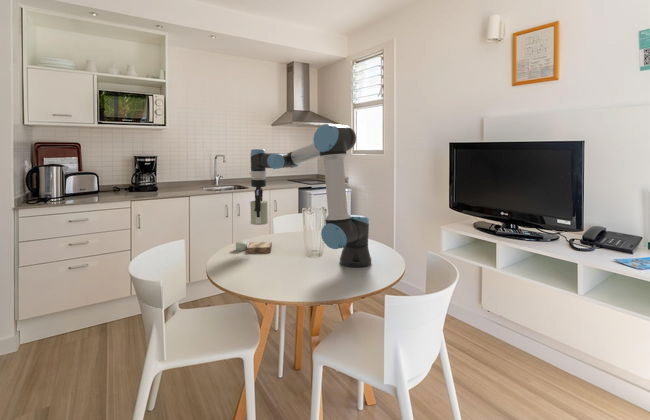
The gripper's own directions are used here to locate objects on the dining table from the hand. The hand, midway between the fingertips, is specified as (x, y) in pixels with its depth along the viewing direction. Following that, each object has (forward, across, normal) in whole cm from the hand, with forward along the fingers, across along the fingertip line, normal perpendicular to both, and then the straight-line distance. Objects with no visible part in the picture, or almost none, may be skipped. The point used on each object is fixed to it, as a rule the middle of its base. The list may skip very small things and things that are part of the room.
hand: (259, 221), depth 194 cm
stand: (+16, 0, 0) cm, 16 cm away
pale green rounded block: (+16, -1, -10) cm, 19 cm away
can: (+1, 0, 0) cm, 1 cm away
